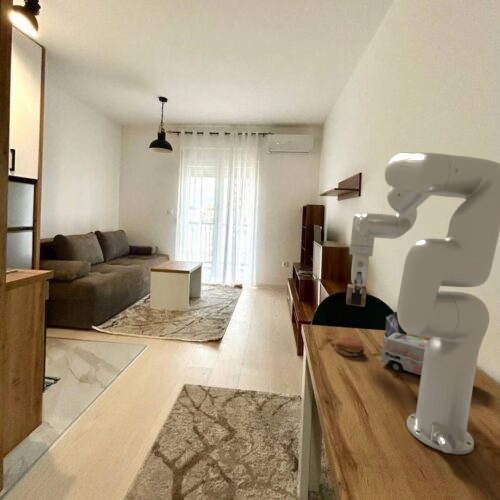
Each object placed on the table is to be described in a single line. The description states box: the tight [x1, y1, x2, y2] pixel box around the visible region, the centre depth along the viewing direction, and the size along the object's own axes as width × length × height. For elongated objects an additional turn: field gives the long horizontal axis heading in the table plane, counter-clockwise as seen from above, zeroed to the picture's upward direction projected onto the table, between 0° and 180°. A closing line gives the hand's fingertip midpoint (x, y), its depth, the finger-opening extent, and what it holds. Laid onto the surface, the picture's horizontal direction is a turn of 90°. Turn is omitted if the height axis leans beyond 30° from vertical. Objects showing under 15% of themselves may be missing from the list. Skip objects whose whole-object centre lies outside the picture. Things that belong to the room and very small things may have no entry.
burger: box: [334, 336, 365, 357], centre depth 114 cm, size 10×9×5 cm
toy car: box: [379, 333, 429, 376], centre depth 100 cm, size 11×25×10 cm, turn 50°
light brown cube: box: [345, 283, 368, 308], centre depth 112 cm, size 6×6×6 cm
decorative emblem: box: [382, 311, 408, 344], centre depth 117 cm, size 12×2×15 cm, turn 0°
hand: (355, 301), depth 112 cm, fingers closed on light brown cube, 6 cm apart
